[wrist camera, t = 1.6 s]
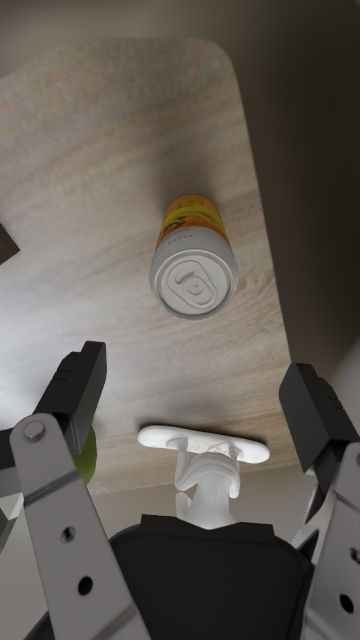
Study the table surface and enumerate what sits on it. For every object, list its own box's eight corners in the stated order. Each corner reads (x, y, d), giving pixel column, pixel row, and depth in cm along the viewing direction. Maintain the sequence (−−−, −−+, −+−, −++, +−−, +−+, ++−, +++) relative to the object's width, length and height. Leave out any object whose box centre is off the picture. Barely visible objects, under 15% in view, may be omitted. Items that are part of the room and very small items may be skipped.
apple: (51, 414, 51) (19, 481, 41) (91, 405, 49) (67, 472, 39) (76, 441, 55) (53, 506, 46) (114, 433, 53) (98, 499, 44)
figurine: (133, 448, 56) (114, 554, 42) (143, 409, 49) (125, 521, 35) (252, 467, 59) (272, 572, 45) (279, 433, 52) (311, 545, 38)
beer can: (196, 179, 28) (203, 220, 16) (230, 226, 31) (258, 294, 18) (152, 218, 30) (127, 281, 18) (187, 259, 33) (186, 339, 21)
